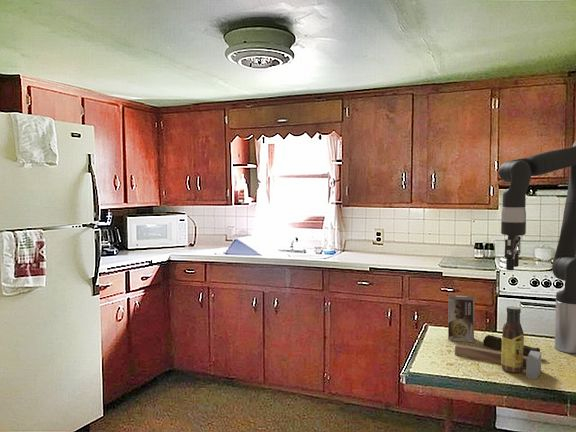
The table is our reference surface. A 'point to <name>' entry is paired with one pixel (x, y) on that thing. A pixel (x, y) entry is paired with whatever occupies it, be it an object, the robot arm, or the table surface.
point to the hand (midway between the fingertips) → (512, 268)
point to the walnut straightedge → (481, 354)
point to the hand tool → (497, 345)
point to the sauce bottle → (512, 342)
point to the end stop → (533, 365)
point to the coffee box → (461, 318)
